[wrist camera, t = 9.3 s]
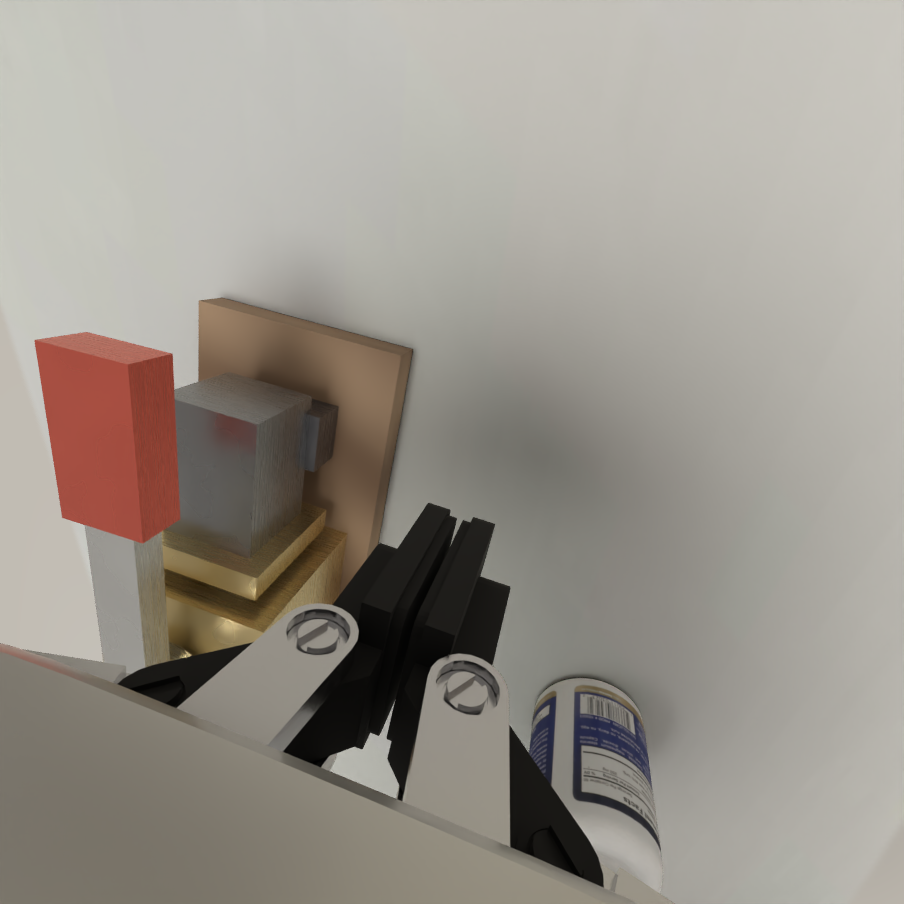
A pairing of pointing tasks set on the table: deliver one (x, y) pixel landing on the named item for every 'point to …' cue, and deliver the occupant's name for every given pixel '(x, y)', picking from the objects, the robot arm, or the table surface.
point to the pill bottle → (601, 771)
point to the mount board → (328, 380)
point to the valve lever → (117, 480)
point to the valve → (247, 512)
